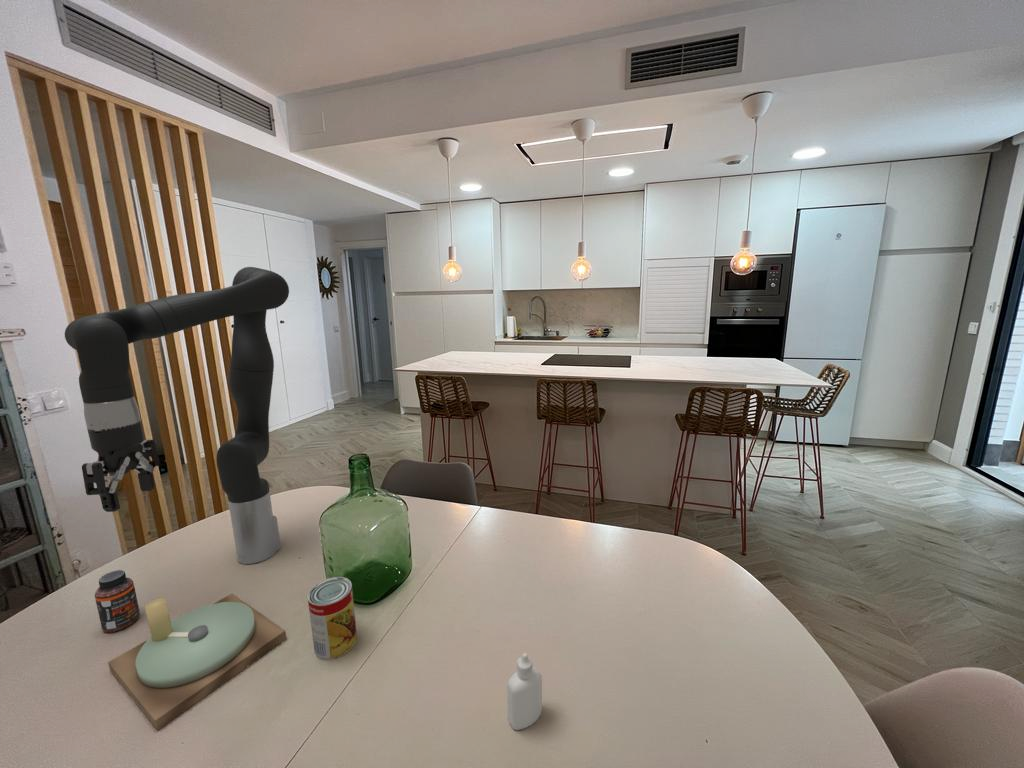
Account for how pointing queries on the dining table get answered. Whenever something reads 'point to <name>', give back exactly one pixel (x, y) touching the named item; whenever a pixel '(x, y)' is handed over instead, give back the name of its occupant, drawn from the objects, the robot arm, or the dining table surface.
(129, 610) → the supplement bottle
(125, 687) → the base board
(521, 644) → the dining table surface
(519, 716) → the eye dropper bottle
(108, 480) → the robot arm
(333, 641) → the canned food
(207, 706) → the dining table surface
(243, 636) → the dial
